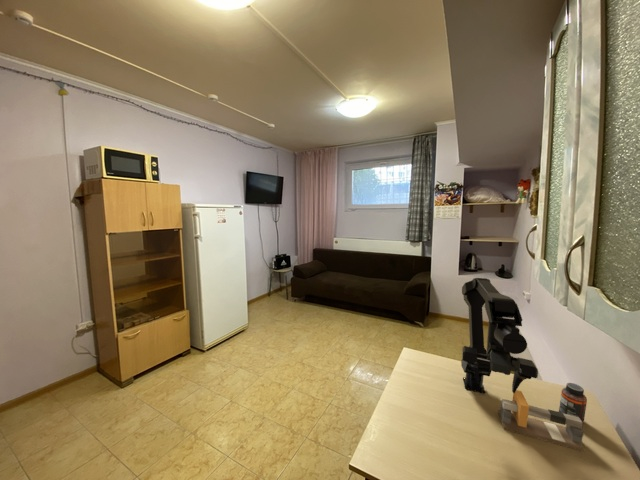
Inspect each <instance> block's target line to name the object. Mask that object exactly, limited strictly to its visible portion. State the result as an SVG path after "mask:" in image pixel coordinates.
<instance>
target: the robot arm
mask: <svg viewBox="0 0 640 480" xmlns="http://www.w3.org/2000/svg"><path fill="white" fill-rule="evenodd" d="M461 294H462V296H463V300H464V302H465V304H466V305H467V307H468V327H469V346H466V345H464V346H463V347H462V351H461V352H462V353H461V361H460V363H461V368H462V370H463V372H464V373H465V377H464V376H463V377H462V381H463V385H464V389H465V390H470V391H473V392H478V393H481V394H485V393H486V391H485V387H484V384H483V383H484V376H486V377H490V376H491V373H492V372H494V373H500V374H503V375H505V376H510V375H511V372H513V378H512V379H513V380H512V384H511V385H512V386H511V390H512V394H513V393H515V391H516V390H518V388H519V386H520V385H521V384H522V382H523V381H525V380H527V379H528V380H531V379H532V378H534V379H538V378H539V377H538V376H539V371H538V370H539V369H538V368H537V366H536V364H535V362H534V361H533V360H532V359H528V358H522V357H514V356H513V355H518V354H522V353H524V352H525V351H526V350H527V348H528V342H527V339H526V338H525V336H524V335H522V334H521V333H520V329H519V327H523V317H522V313H521V311H520V308H519V305H518V304H517V303H516V301H515V300H514V298H512V297H510V296H509V295H504V294H501V293H500V292H499V291H498V289H497V288H496V287H495V285H493V284H492V283H491V279H489V278H485V277H484V278H483V277H473V279H472V280H470V281H467V282H465V283H464V284H463V286H461ZM483 307H484V309H485V312H486V315H487V318H488V325H487V326H488V327H487V338H486V339H487V340H486V348H485V338H484V337H485V336H484V320H483V319H484V317H483ZM511 354H513V355H511ZM464 378H465V379H464Z"/></svg>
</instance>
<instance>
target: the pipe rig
mask: <svg viewBox="0 0 640 480" xmlns="http://www.w3.org/2000/svg"><path fill="white" fill-rule="evenodd" d="M528 405H529V412H528V416H530V417H528V419H527V427H522V426H518V424H517V421H516V419H515V416H514V414H513V412H512V411H514V412H517V411H518V405H517V402H514V401H512V400H509V399H506V398H501V402H500V406H499V409H498V410H497V412H498V413H497V414H498V416H499V419H500V423H501V425H502V429H503V430H506V431H510V432H513V433H516V434H520V435H525V436H527V437H531V438H534V439H538V440H542V441H545V442H548V443H553V444H554V445H555V444H556V445H560V446H563V447H567V448H571V449H575V450H578V451H581V452H584V451H585V447H584V446H583V437H584V436H583V435H584V430H583V429H582V427H583V424H584V423H583V422H582V421H581V420H580V418H579V417H576V416H572V415H567V414H563V413H561V412H559V411H556V410H554V409H553V410H551V409H547V408H542V407H538V406H534V405H530V404H528ZM531 417H534V418H531ZM535 418H538V419H535ZM539 419H542V420H539ZM543 420H545V421H543ZM546 420H547V421H550V422H547V421H546ZM551 422H552V423H551ZM555 423H557V424H555ZM582 423H583V424H582ZM563 425H564V426H563Z"/></svg>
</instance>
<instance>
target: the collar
mask: <svg viewBox="0 0 640 480" xmlns="http://www.w3.org/2000/svg"><path fill="white" fill-rule="evenodd" d="M511 401H514V402H517V405H518V411H517V412H514V411H511V412H512V413H513V414H514V416H515V419H516V421H517V424H518V426H522V427H527V419H528V418H529V415H528V412H529V405H530V404H529V403H528V402H527V399H526V398H525V395H524V394H523V392H522V390H518V389H517V390H516V391H515V393H513V392H512V400H511Z"/></svg>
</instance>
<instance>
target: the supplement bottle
mask: <svg viewBox="0 0 640 480" xmlns="http://www.w3.org/2000/svg"><path fill="white" fill-rule="evenodd" d="M584 390H585V389H584V388H583V386H580V385H579V384H577V383H572V382H567V383H566V385H565V387H563V388H562V389H561V393H560V401H559V406H558V412H561V413H563V414H567V415H572V416H576V417H579V418H580V420H581V421H582V422H583V423H582V425H583V424H584V422H585V415H586V411H587V410H586V409H587V403H588V398H587V396H586V395H585V391H584Z"/></svg>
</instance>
